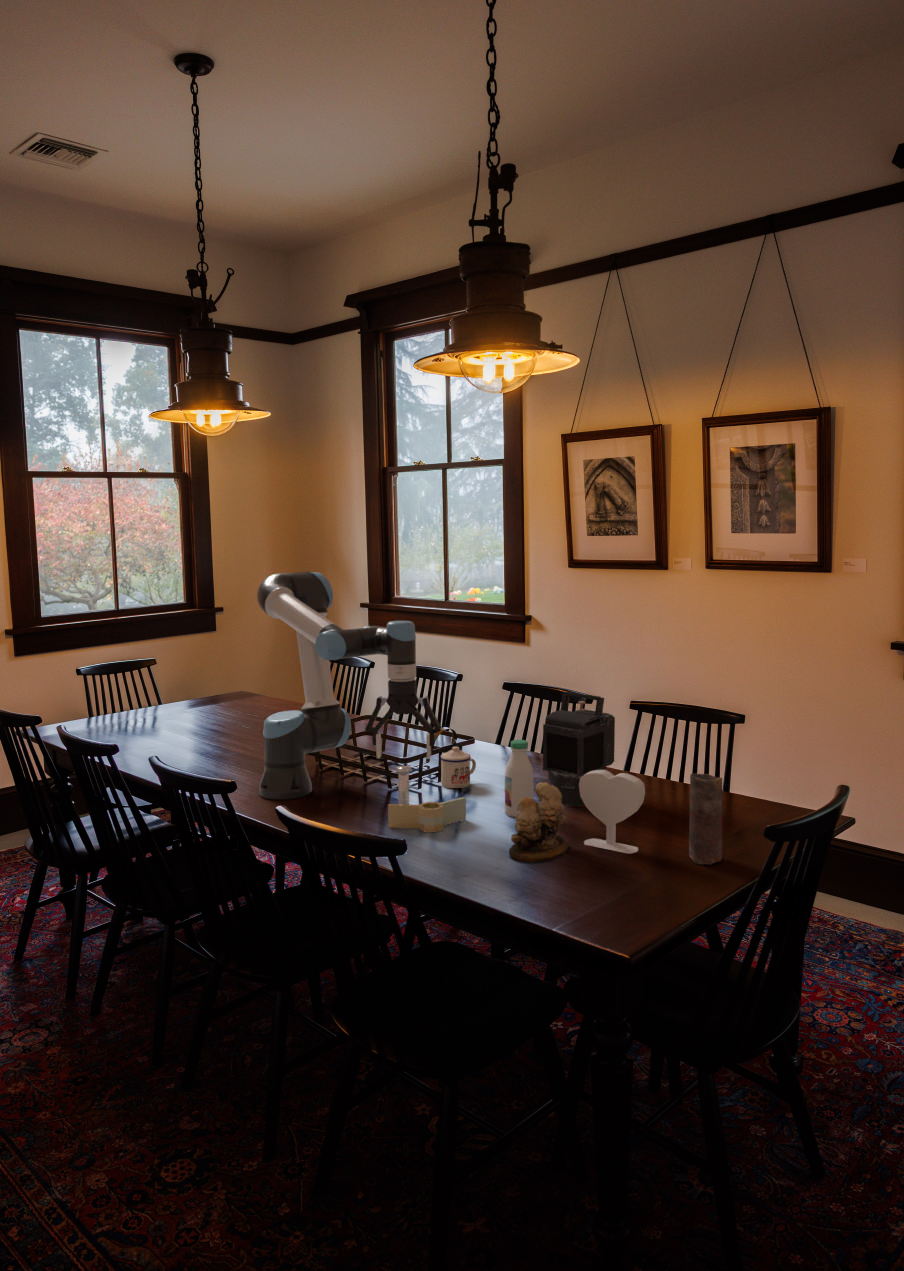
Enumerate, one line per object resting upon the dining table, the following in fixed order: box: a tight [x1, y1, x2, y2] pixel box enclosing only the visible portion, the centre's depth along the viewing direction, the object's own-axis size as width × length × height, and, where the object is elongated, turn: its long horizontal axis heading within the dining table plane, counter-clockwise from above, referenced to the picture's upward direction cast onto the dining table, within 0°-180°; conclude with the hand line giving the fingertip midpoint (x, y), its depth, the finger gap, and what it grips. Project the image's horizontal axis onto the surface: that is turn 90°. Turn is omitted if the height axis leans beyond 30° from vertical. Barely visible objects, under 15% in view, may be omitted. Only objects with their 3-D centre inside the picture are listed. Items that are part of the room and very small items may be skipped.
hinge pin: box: [395, 765, 412, 805], centre depth 234 cm, size 4×4×13 cm
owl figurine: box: [508, 781, 569, 864], centre depth 205 cm, size 18×12×17 cm, turn 139°
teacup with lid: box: [440, 746, 477, 789], centre depth 261 cm, size 12×9×12 cm
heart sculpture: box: [579, 769, 646, 855], centre depth 208 cm, size 16×5×18 cm, turn 57°
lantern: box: [542, 691, 616, 807], centre depth 245 cm, size 15×18×30 cm
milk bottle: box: [504, 739, 535, 818], centre depth 232 cm, size 8×8×20 cm
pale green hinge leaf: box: [418, 796, 467, 826], centre depth 224 cm, size 14×6×6 cm, turn 128°
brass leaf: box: [387, 801, 445, 833], centre depth 223 cm, size 14×6×6 cm, turn 83°
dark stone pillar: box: [688, 773, 723, 866], centre depth 199 cm, size 8×7×20 cm
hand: (403, 757), depth 232 cm, fingers open, 13 cm apart
